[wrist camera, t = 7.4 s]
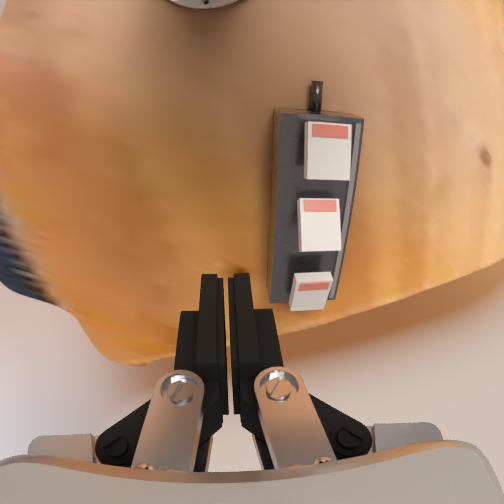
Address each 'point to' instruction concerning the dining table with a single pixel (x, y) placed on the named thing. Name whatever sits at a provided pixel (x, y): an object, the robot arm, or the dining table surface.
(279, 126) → the power strip
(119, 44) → the dining table surface
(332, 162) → the plate
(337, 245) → the rocker
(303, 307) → the rocker
